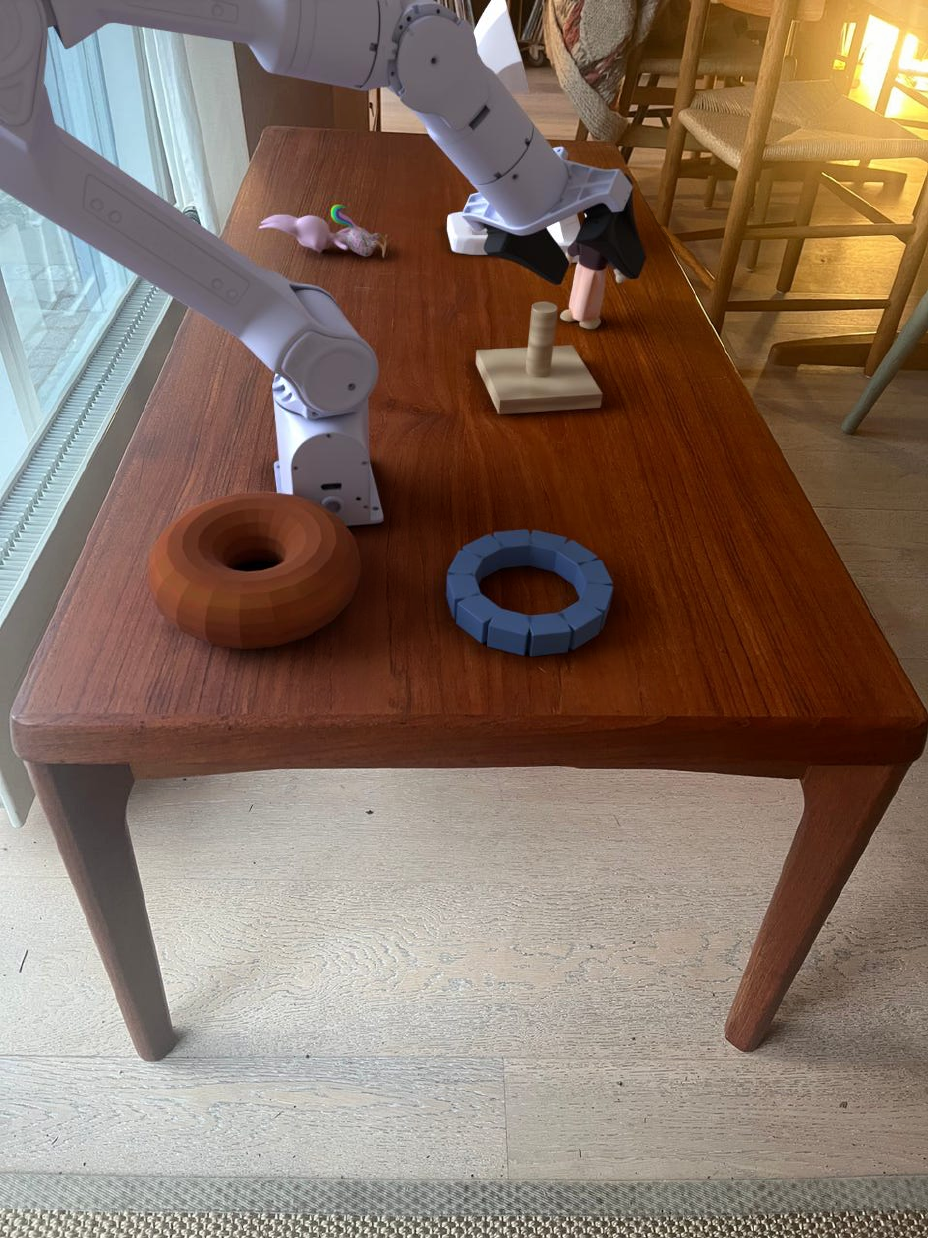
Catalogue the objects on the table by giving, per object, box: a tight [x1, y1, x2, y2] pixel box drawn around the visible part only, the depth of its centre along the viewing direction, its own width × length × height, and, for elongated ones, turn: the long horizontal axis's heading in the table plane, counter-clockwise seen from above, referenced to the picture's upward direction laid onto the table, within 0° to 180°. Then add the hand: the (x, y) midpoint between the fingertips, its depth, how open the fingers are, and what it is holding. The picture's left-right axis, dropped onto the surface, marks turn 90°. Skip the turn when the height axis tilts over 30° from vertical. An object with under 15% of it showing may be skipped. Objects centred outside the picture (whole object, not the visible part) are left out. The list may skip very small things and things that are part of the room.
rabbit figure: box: [258, 204, 388, 259], centre depth 115 cm, size 6×6×15 cm
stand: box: [475, 301, 604, 415], centre depth 93 cm, size 10×10×8 cm
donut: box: [146, 490, 362, 650], centre depth 69 cm, size 15×15×5 cm
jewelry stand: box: [446, 0, 581, 264], centre depth 118 cm, size 25×16×25 cm, turn 6°
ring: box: [445, 528, 614, 657], centre depth 71 cm, size 12×12×2 cm
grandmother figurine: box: [559, 213, 627, 330], centre depth 102 cm, size 8×4×13 cm, turn 62°
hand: (599, 271), depth 77 cm, fingers open, 7 cm apart
